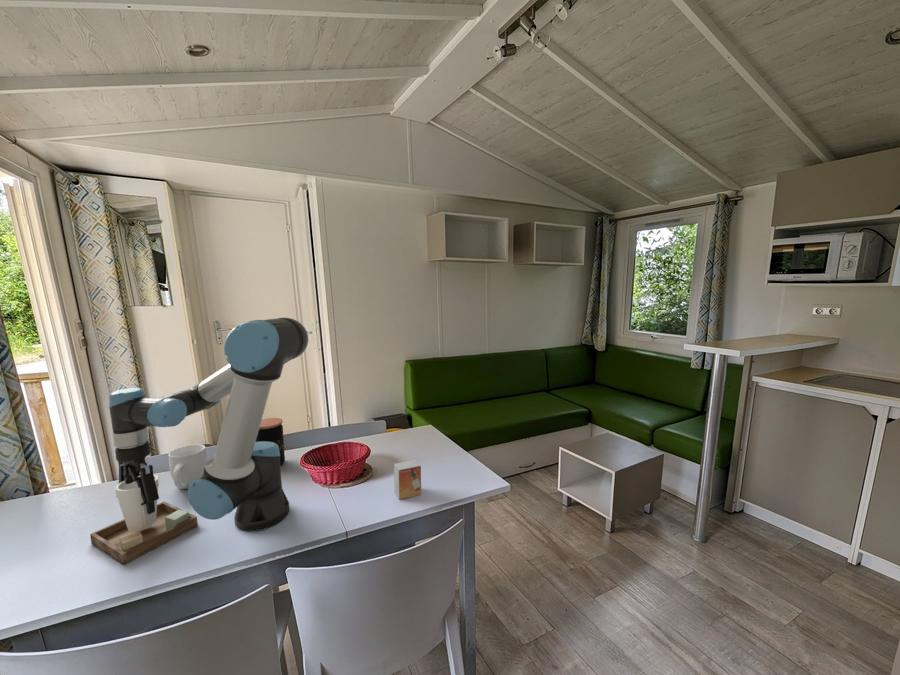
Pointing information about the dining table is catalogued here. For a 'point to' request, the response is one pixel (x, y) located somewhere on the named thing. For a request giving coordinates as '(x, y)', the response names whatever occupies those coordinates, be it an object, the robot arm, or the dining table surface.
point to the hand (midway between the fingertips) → (141, 518)
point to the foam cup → (133, 504)
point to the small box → (407, 479)
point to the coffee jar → (272, 434)
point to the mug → (187, 464)
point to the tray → (151, 536)
